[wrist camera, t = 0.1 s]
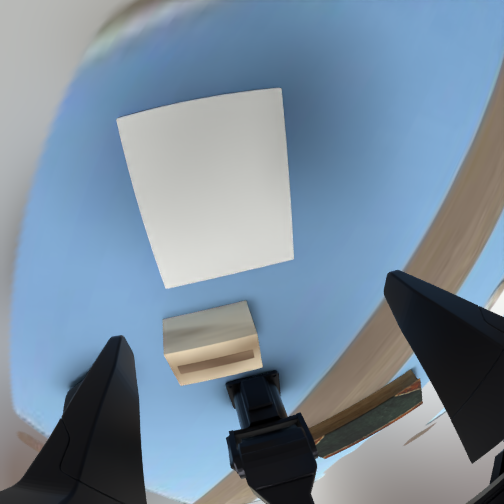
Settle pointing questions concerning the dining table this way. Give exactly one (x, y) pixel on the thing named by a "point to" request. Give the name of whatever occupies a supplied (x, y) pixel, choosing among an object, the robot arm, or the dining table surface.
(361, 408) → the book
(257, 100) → the mat
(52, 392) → the dining table surface
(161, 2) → the dining table surface
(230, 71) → the dining table surface
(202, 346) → the tan rectangular block
